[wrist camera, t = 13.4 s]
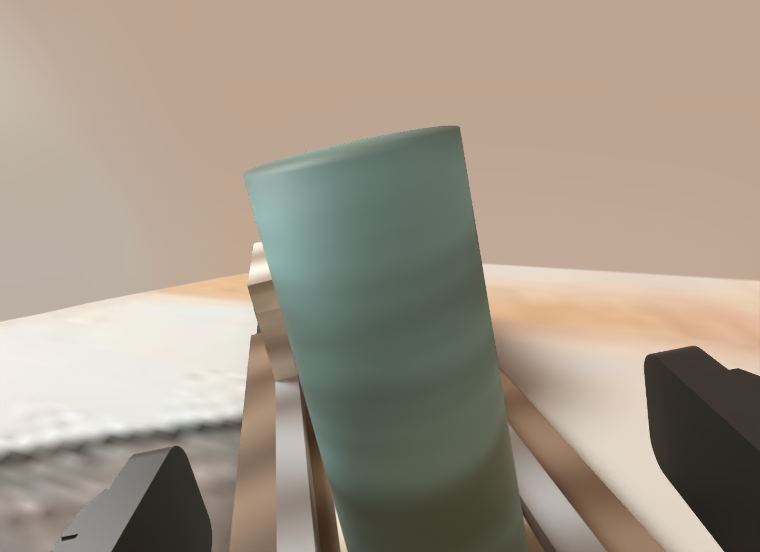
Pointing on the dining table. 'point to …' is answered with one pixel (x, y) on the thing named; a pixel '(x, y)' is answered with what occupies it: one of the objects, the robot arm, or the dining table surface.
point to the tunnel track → (310, 484)
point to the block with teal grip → (394, 341)
